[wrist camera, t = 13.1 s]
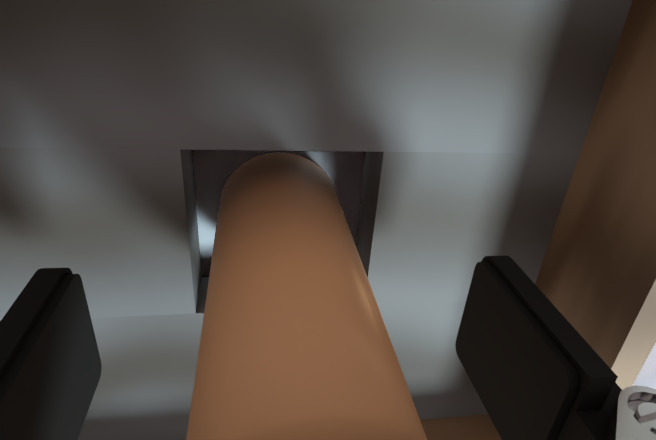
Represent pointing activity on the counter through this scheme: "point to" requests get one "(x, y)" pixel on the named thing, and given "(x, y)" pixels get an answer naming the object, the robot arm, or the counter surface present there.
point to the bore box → (333, 135)
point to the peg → (293, 319)
